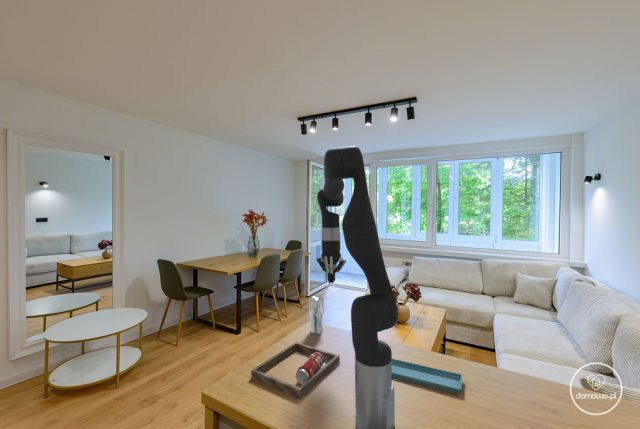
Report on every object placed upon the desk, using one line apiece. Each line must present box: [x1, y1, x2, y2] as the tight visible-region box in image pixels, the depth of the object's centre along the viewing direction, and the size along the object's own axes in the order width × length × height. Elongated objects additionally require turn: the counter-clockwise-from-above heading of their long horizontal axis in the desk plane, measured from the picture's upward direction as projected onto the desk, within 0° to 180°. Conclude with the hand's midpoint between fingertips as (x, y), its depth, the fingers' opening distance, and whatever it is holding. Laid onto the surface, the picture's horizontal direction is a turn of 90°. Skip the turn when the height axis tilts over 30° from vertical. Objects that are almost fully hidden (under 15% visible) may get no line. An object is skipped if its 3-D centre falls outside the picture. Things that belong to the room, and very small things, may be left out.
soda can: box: [295, 352, 325, 385], centre depth 95 cm, size 5×5×12 cm
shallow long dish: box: [392, 358, 463, 395], centre depth 94 cm, size 26×9×2 cm, turn 61°
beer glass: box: [308, 296, 325, 335], centre depth 130 cm, size 7×7×15 cm
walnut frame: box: [250, 341, 341, 400], centre depth 98 cm, size 20×24×2 cm
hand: (331, 282), depth 113 cm, fingers closed
